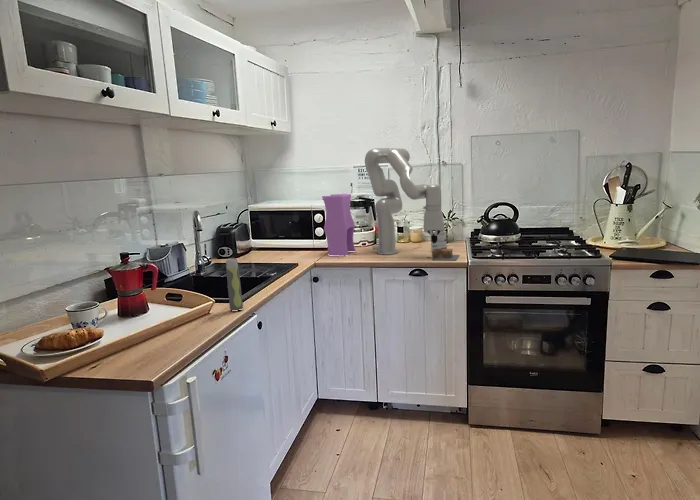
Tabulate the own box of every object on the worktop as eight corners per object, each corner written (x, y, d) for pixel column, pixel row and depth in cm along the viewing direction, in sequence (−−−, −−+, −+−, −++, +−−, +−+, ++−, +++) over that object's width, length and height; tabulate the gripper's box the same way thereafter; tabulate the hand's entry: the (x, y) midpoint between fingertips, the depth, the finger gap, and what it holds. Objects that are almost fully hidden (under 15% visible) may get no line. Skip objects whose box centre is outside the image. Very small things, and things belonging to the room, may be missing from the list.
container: (334, 252, 292) (331, 194, 286) (356, 252, 287) (352, 193, 281) (325, 256, 279) (321, 196, 273) (348, 256, 274) (344, 195, 268)
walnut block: (431, 250, 252) (450, 250, 249) (433, 248, 258) (452, 248, 254) (431, 258, 253) (450, 258, 250) (433, 255, 259) (452, 256, 255)
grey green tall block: (228, 310, 180) (222, 258, 177) (240, 307, 183) (235, 256, 179) (233, 313, 176) (227, 260, 173) (245, 310, 179) (240, 257, 175)
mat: (432, 260, 249) (432, 259, 249) (437, 255, 262) (437, 254, 262) (455, 260, 245) (455, 259, 245) (459, 255, 258) (459, 254, 258)
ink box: (446, 250, 275) (445, 230, 273) (447, 252, 270) (446, 231, 268) (430, 251, 276) (430, 230, 274) (431, 252, 271) (430, 232, 269)
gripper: (417, 209, 250) (419, 244, 253) (446, 208, 245) (447, 244, 248) (420, 208, 257) (421, 241, 260) (448, 207, 252) (449, 241, 255)
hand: (434, 242), depth 254 cm, fingers closed
